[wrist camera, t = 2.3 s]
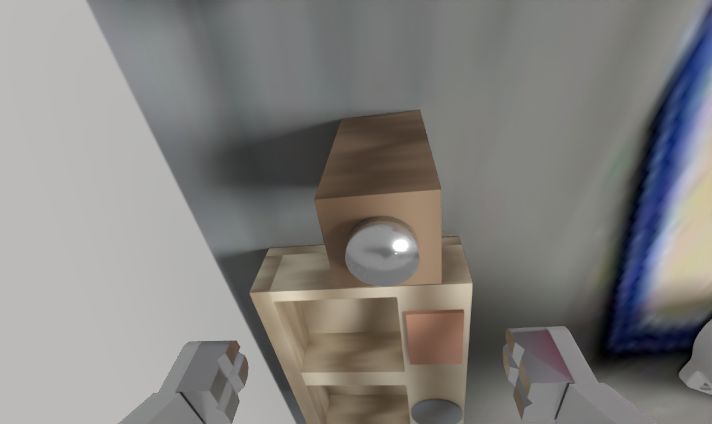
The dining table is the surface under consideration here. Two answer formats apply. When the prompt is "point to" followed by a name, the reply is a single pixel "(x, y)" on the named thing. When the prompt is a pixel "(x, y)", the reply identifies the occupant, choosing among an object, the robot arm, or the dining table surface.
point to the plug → (381, 203)
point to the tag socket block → (368, 339)
